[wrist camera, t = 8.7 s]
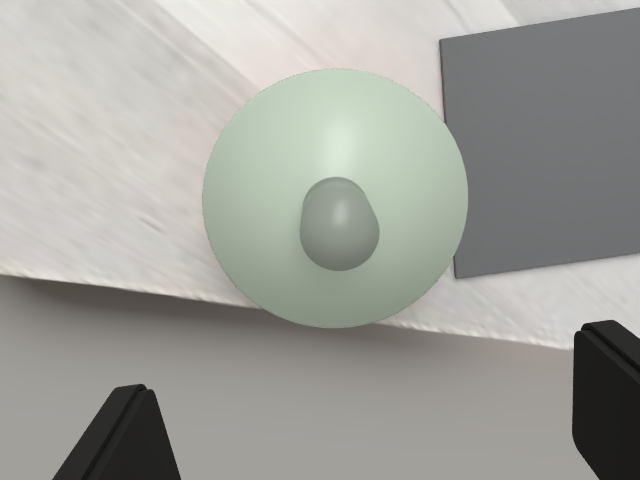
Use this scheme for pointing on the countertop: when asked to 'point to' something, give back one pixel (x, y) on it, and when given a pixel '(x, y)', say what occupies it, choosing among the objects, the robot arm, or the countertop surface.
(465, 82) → the mat
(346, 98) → the lid
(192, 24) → the countertop surface
